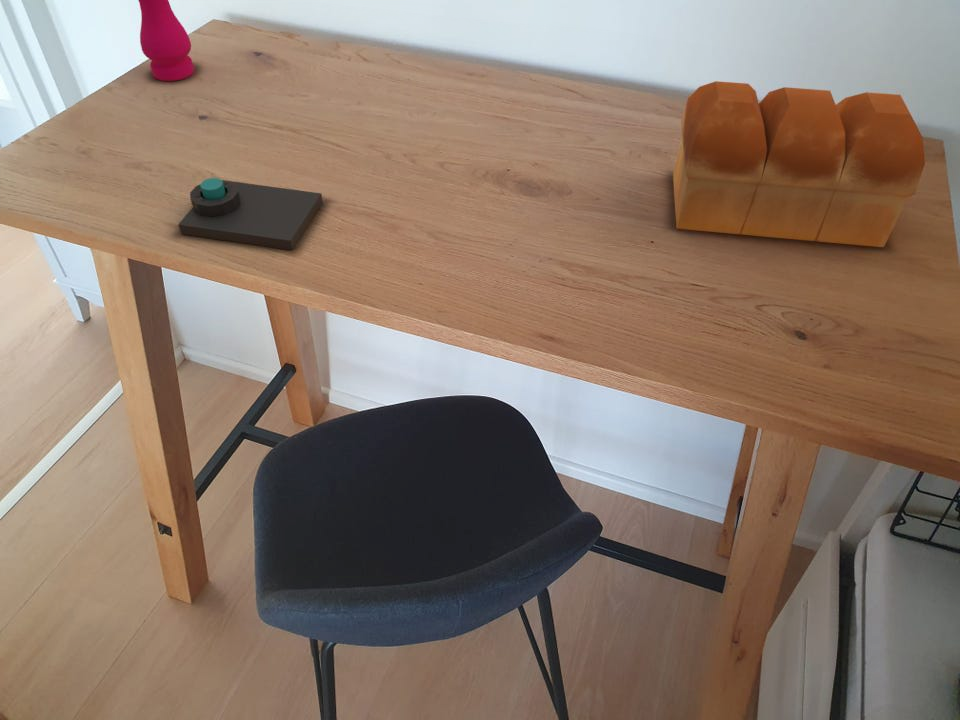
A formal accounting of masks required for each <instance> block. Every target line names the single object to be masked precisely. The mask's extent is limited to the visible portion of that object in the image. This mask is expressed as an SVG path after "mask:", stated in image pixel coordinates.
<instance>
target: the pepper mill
mask: <svg viewBox="0 0 960 720" xmlns="http://www.w3.org/2000/svg"><path fill="white" fill-rule="evenodd" d="M137 1H138V3H139V9H140V12H141V13H140V16H141V21H140V31H139V43H140V48H141V52H142V53H143V55H144V56H145V57H146V58H147V59H148V60H150V61H151V62H150V63H149V67H150V70H151V73H152V76H153V77H154V79H157V80H159V81H163V82H176V81H180V80H184V79H187V78H189V77H191V76H192V75H193V74H194V73H195V67H194V62H193V60H192V59H193V58H192V57H191V56H189V54H190V53H191V49H192V44H191V39H190V36H189V34H188V32H187V31H186V29H185V27H184V26H183V24H182V23H181V21H179V19H178V17H177V16H176V15H175V13H174V11H173V9H172V7H171V4H170V0H137Z"/></svg>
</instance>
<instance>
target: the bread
mask: <svg viewBox="0 0 960 720" xmlns="http://www.w3.org/2000/svg"><path fill="white" fill-rule="evenodd" d="M680 125H681V138H680V143H679V147H678V150H677V155H676V156H677V157H676V160H675V165H674V170H673V173H672V181H673V197H674V209H675V210H674V212H675V224H676V225H675V226H676V229H677V230H687V231H699V232H711V233H719V234H721V233H722V234H730V235H732V234H733V235H744V236H753V237H755V236H756V237H764V238H765V237H767V238H775V239H777V238H778V239H785V240H786V239H787V240H797V241H808V242H809V241H810V242H822V243H830V244H831V243H832V244H840V245H841V244H843V245H853V246H863V247H864V246H865V247H873V248H874V247H875V248H885V246H886V243H887V242H888V240H889V237H890V235H891V233H892V231H893V229H894V227H895V225H896V223H897V220H898V218H899V217H900V214H901V213H902V210H903V208H904V206H905V204H906V202H907V200H908V198H910V197H912V196H914V195H916V192H917V189H918V186H919V183H920V180H921V177H922V174H923V171H924V168H925V165H926V158H925V147H924V138H923V136H922V134H921V131H920V129H919V128H918V126H917V123H916V121H915V120H914V118H913V116H912V113H911V112H910V111H909V108H908V106H907V105H906V102H905V101H904V99H903V96H902V95H901V94H897V93H896V94H895V93H883V92H881V93H880V92H867V91H866V92H863V93H862V92H861V93H858V94H854V95H850V96H846V97H845V98H843V99H842V100H841V101H839V102H837V103H836V102H835V99H834V97H833V95H832V92H831V90H828V89H812V88H799V87H787V86H784V87H781V88H778V89H775V90H771V91H768V93H767V94H766V95H765V96H764V97H763V98H762V100H761V101H760V102H759V99H758V94H757V91H756V90H755V88H754V87H752V85H750V83H743V82H731V81H717V80H715V81H713V82H709V83H705V84H704V85H700V86H698V87H697V89H695V90H694V91H693V92H692V94H691V95H690V96H688V98H687V101H686V104H685V107H684V110H683V114H682V117H681V120H680Z"/></svg>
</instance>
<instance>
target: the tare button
mask: <svg viewBox="0 0 960 720" xmlns="http://www.w3.org/2000/svg"><path fill="white" fill-rule="evenodd" d="M222 180H223V179H220V178H218V177H210V178H206V179H204V180H202V181H201V183H200V184H201V185H200V184H199V185H200V187H201V190H202V194H203V197H204V198H205V199H208V200H215V199H219V198H221V197H223V196H225V194H226V192H225V189H224V185H223V181H222Z"/></svg>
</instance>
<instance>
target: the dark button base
mask: <svg viewBox="0 0 960 720" xmlns="http://www.w3.org/2000/svg"><path fill="white" fill-rule="evenodd" d="M221 180H222V181H223V185H224V189H225V192H226V194H225V196H223V197H221V198H219V199H215V200H208V199H205V198H204V197H203V194H202V190H201V187H200V185H201V183H199V184H198V185H195V186H194V188H193V189H192V190H191V191H190V192H189V198H190V203H191V205H192V207H191V209H190V210H189V211H188V212H187V213H186V214H185V216H183V218H182V219H181V220H180V222H179V223H178V225H177V226H178V228H179V231H180V234H181V235H186V236H192V237H200V238H206V239H212V240H213V239H214V240H220V241H227V242H231V243H232V242H233V243H240V244H246V245H254V246H261V247H267V248H275V249H282V250H288V251H293V250H294V249H295V247H296V245H298V242H299V241H300V240H301V238H302V236H303V235H304V233H305V232H306V230H307V229H308V227H309V225H310V224H311V222H312V221H313V219H314V218H315V216H316V215H317V213H318V211H319V209H321V207H322V205H323V203H324V202H323V195H322V193H321V192H313V191H306V190H299V189H293V188H286V187H285V188H284V187H277V186H269V185H262V184H255V183H246V182H239V181H233V180H231V181H230V180H227V179H226V180H224V179H221Z"/></svg>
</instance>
